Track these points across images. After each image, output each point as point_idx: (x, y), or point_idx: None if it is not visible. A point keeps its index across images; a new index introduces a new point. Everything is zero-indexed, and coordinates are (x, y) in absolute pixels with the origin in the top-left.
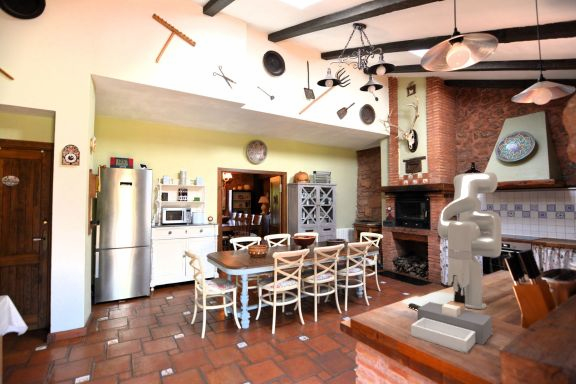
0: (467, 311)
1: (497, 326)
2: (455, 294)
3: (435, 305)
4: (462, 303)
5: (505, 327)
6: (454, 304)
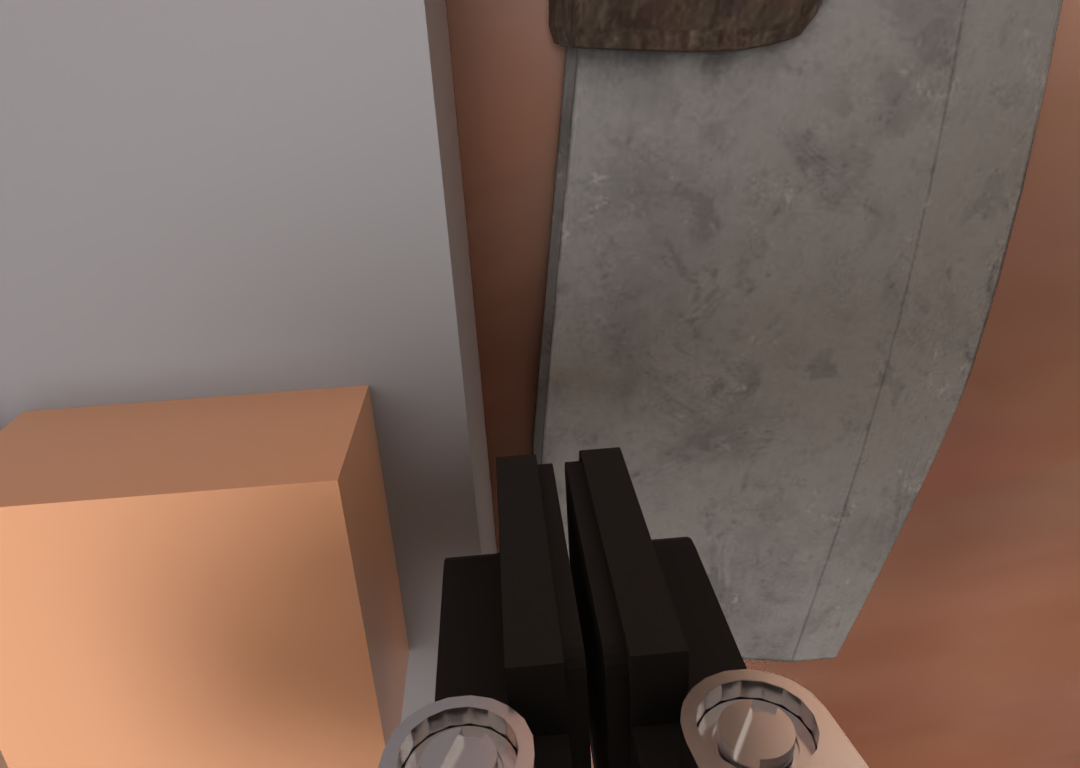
0: (420, 692)
1: (893, 679)
2: (420, 749)
3: (146, 4)
4: (360, 756)
5: (925, 736)
6: (28, 683)
